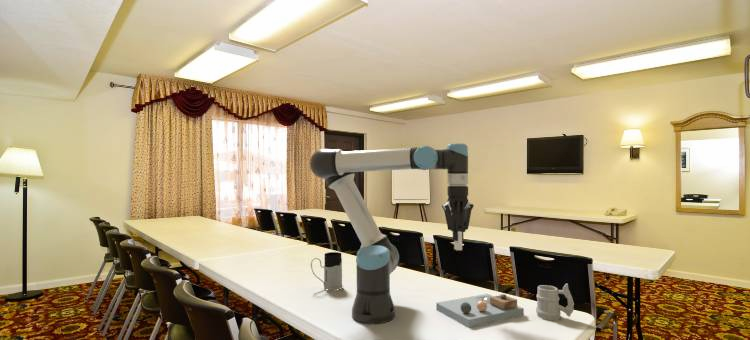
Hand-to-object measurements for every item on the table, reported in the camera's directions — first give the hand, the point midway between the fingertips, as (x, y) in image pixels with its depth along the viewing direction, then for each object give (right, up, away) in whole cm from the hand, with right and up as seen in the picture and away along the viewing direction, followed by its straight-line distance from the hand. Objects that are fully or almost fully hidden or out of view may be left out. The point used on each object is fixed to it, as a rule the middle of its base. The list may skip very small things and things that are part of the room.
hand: (458, 249), depth 134 cm
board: (+6, -22, -4) cm, 23 cm away
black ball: (0, -17, -12) cm, 21 cm away
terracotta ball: (+6, -17, -10) cm, 21 cm away
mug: (+31, -21, -9) cm, 39 cm away
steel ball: (+11, -20, +1) cm, 23 cm away
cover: (+15, -19, -6) cm, 24 cm away
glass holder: (-52, -23, +26) cm, 62 cm away
